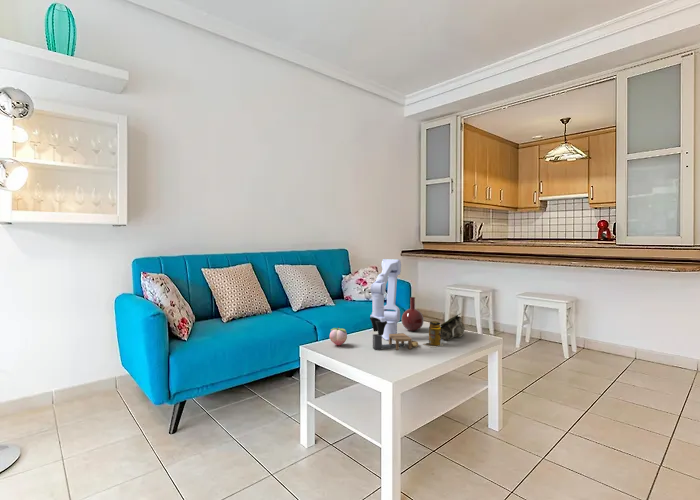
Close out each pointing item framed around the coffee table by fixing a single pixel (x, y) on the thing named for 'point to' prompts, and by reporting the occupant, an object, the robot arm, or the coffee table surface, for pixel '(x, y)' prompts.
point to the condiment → (434, 335)
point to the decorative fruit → (338, 336)
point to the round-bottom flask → (412, 317)
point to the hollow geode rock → (452, 328)
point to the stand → (400, 339)
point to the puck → (414, 344)
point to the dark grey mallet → (378, 343)
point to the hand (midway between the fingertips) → (378, 333)
